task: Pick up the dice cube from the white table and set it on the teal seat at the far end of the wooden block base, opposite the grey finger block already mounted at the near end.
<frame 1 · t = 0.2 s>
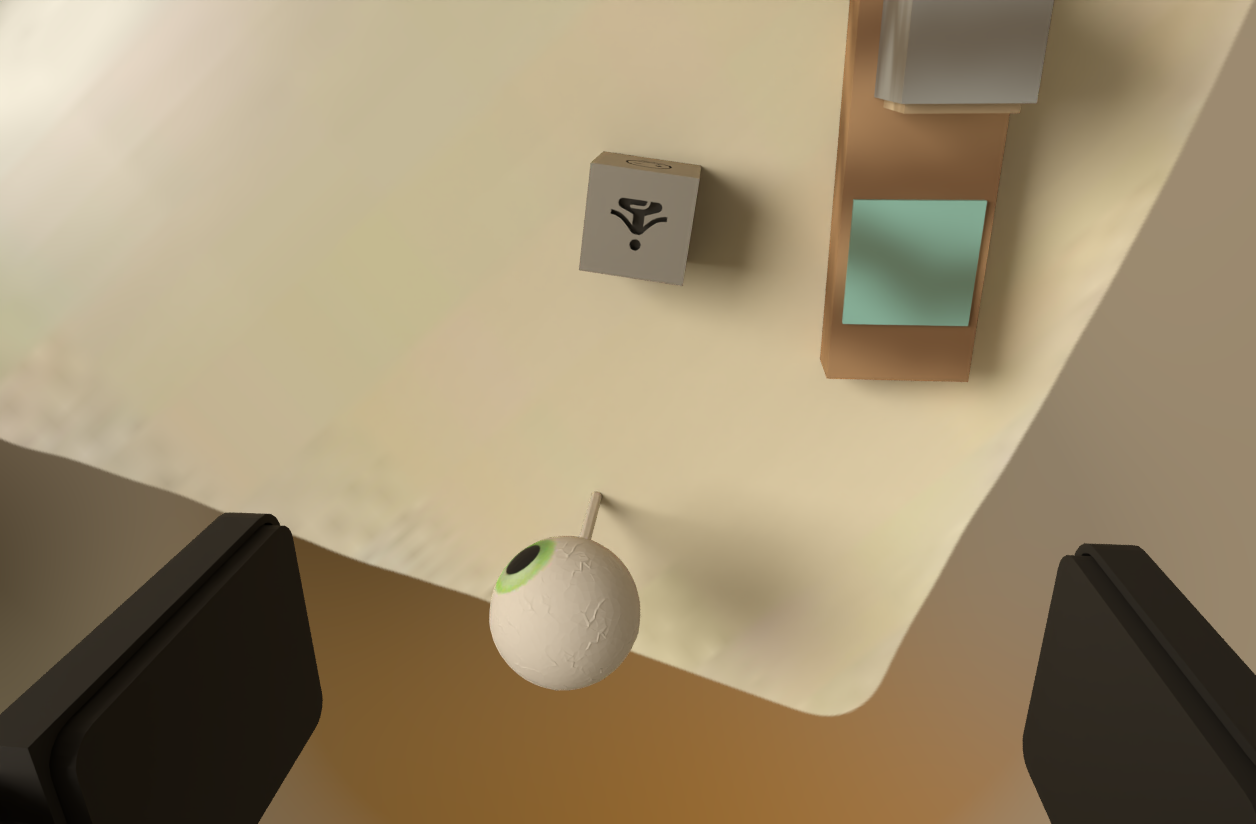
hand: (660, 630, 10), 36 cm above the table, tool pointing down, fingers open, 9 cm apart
wooden block base: (907, 169, 42), on the table
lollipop: (596, 495, 51), on the table
dice cube: (645, 207, 44), on the table
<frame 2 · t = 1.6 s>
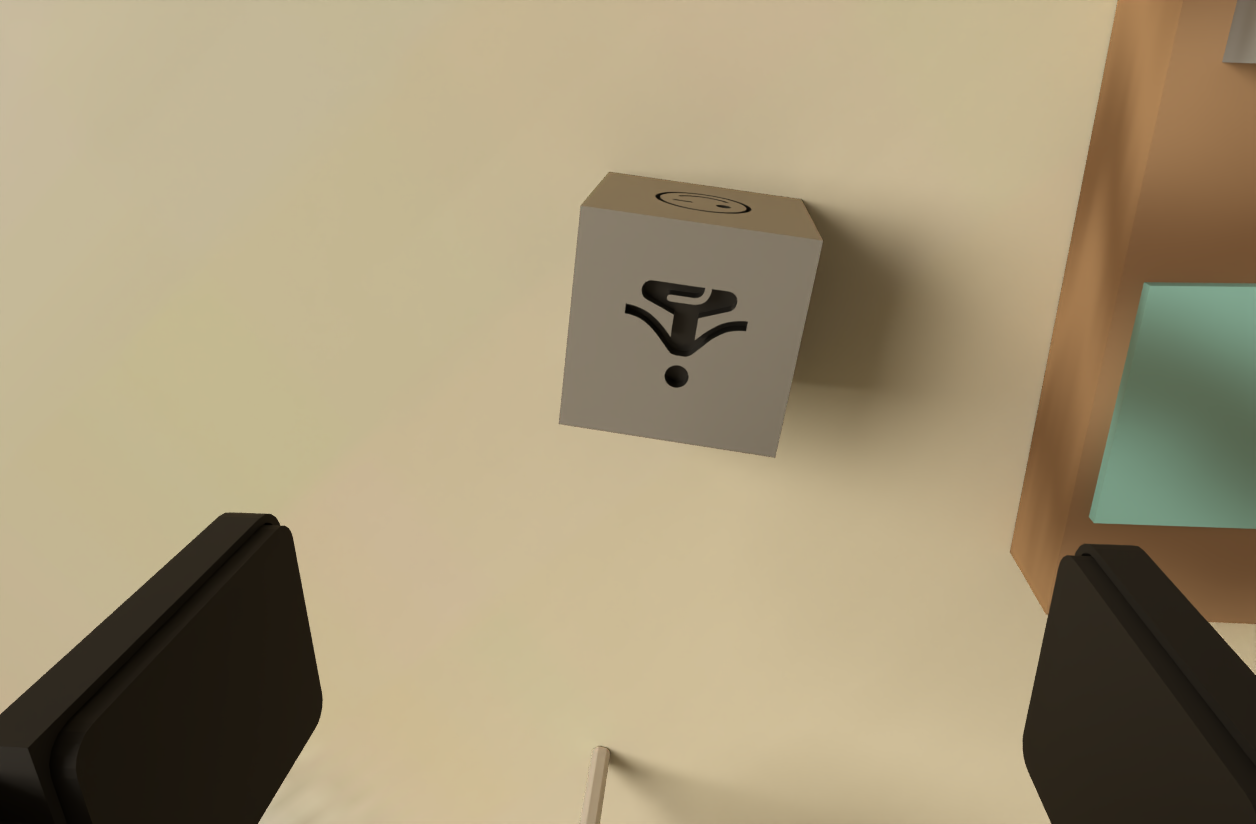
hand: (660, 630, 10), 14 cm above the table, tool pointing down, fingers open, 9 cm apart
wooden block base: (1225, 212, 21), on the table
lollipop: (602, 749, 30), on the table
dice cube: (690, 277, 23), on the table
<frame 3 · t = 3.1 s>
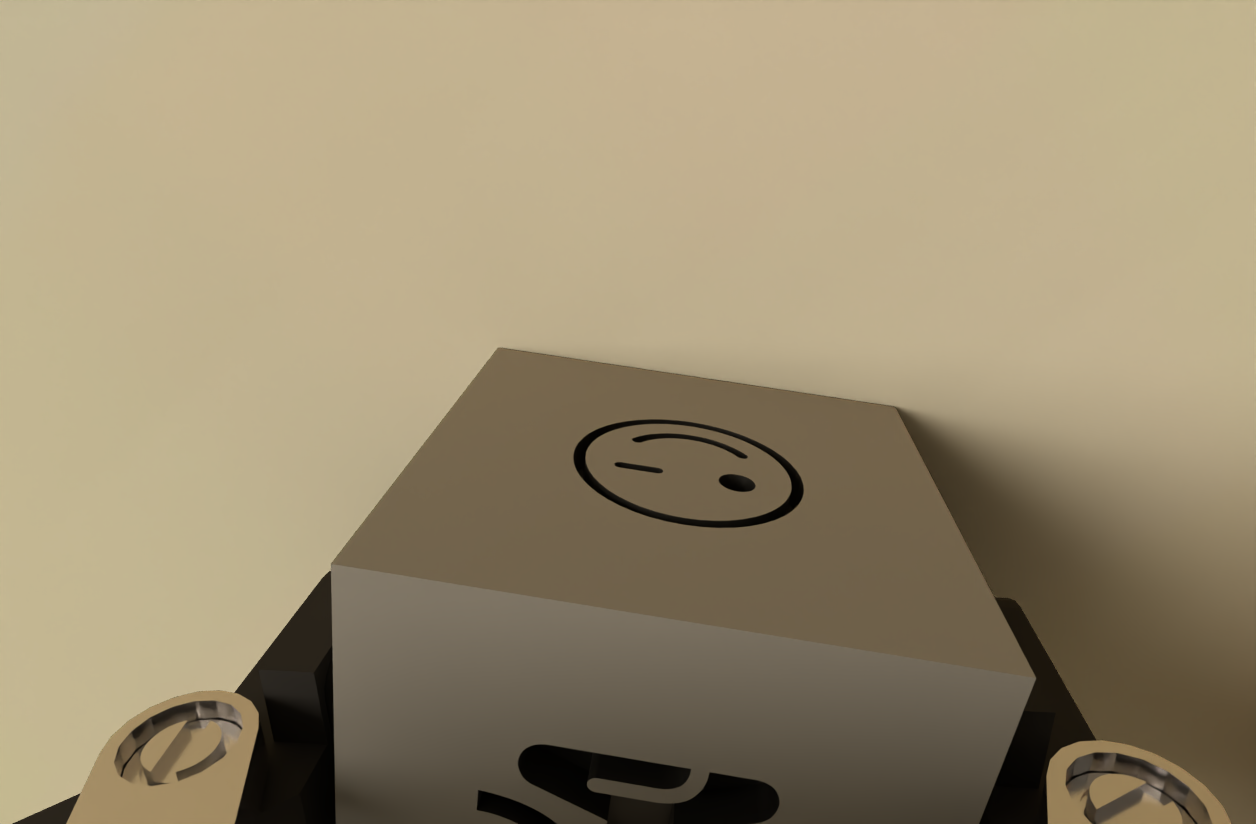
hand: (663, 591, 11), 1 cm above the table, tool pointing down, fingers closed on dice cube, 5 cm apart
dice cube: (667, 539, 12), on the table, touching gripper
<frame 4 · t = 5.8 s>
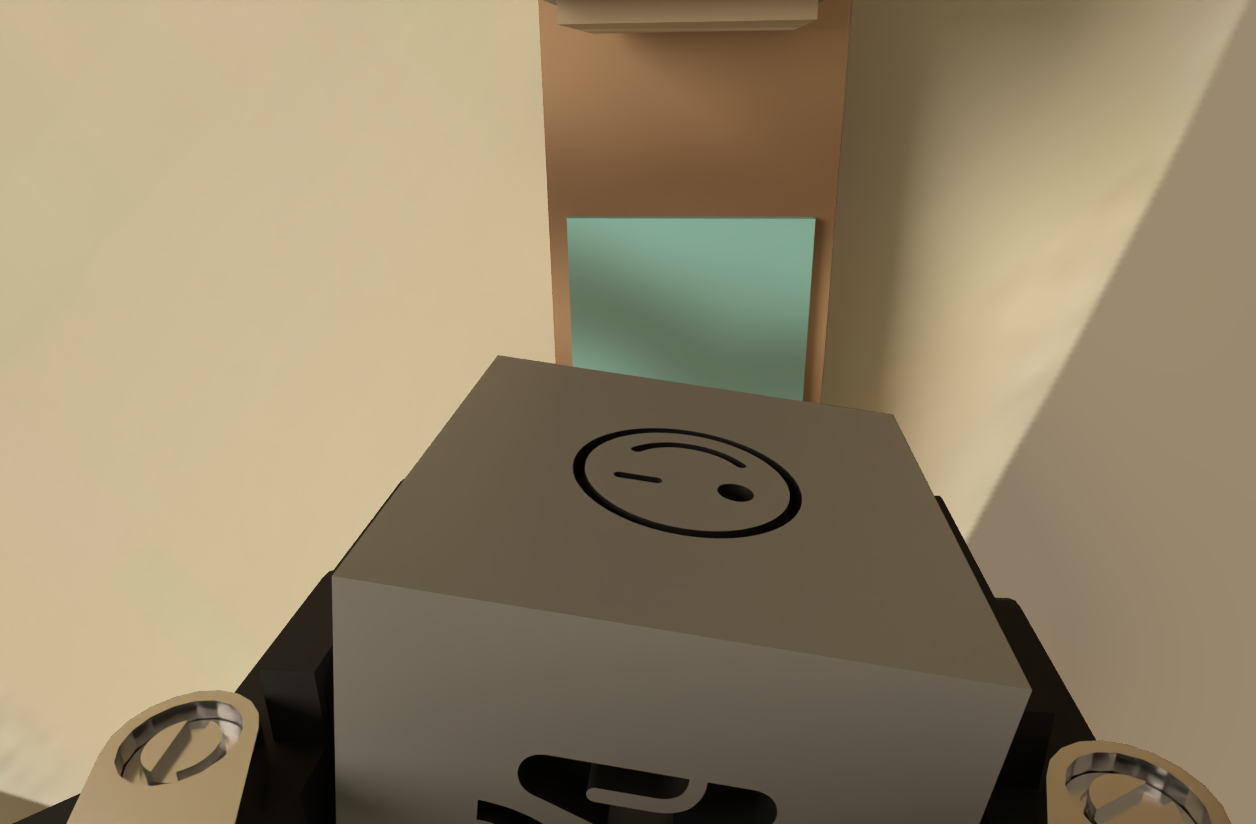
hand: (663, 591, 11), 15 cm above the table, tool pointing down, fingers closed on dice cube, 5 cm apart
wooden block base: (693, 161, 23), on the table
dice cube: (666, 546, 12), point 14 cm above the table, touching gripper
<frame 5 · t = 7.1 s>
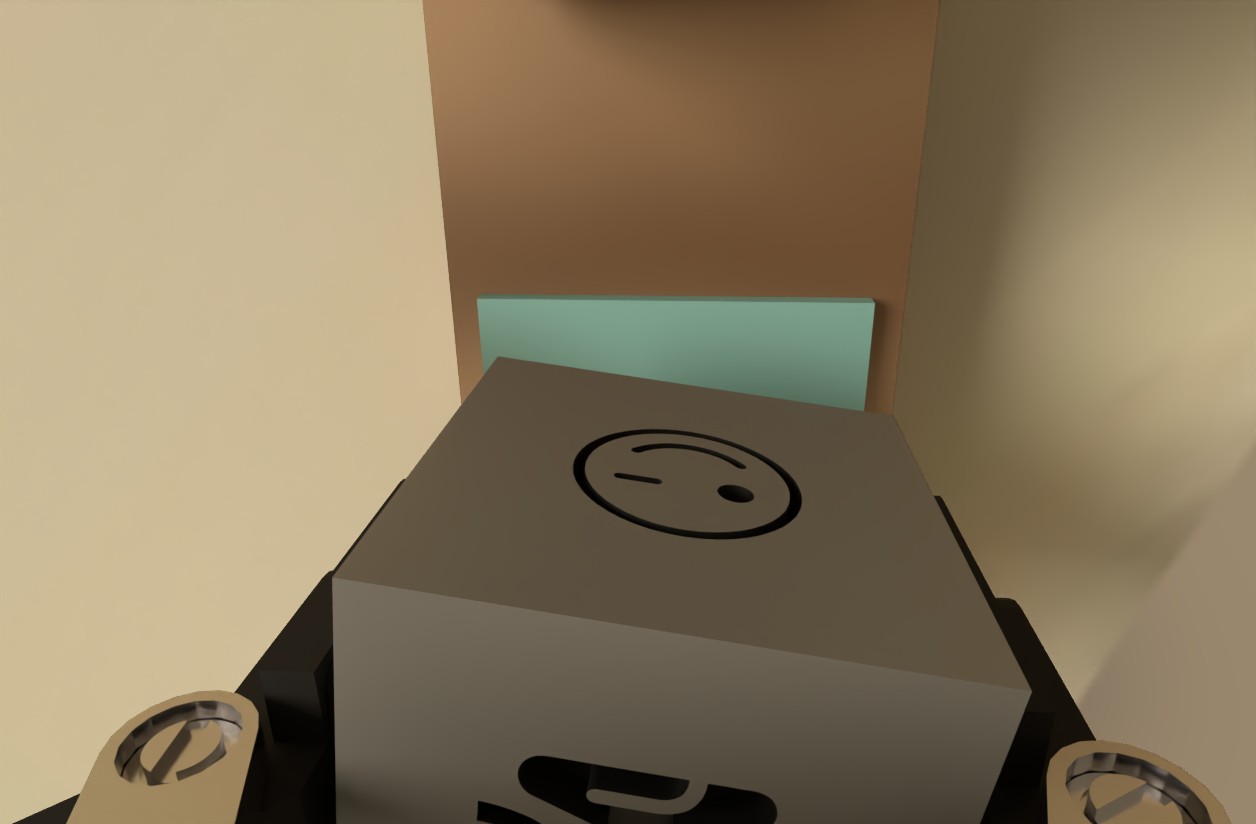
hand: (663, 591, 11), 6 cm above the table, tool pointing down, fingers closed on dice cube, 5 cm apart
wooden block base: (679, 200, 15), on the table
dice cube: (666, 546, 12), point 6 cm above the table, touching gripper
when the fingers open (5 cm above the table, at t = 8.2 s): dice cube drops 1 cm, resting on wooden block base.
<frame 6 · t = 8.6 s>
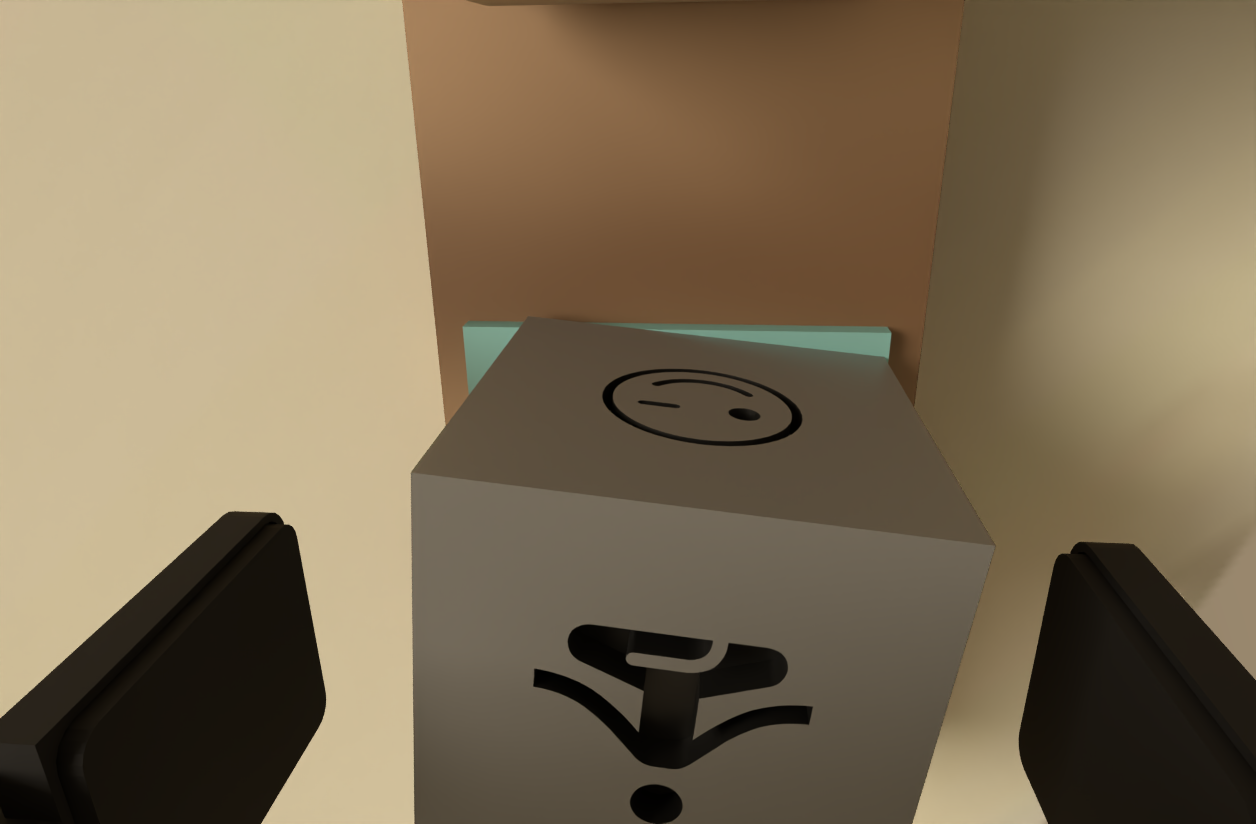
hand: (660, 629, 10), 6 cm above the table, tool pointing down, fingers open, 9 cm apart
wooden block base: (681, 218, 14), on the table
dice cube: (684, 487, 13), point 3 cm above the table, touching wooden block base
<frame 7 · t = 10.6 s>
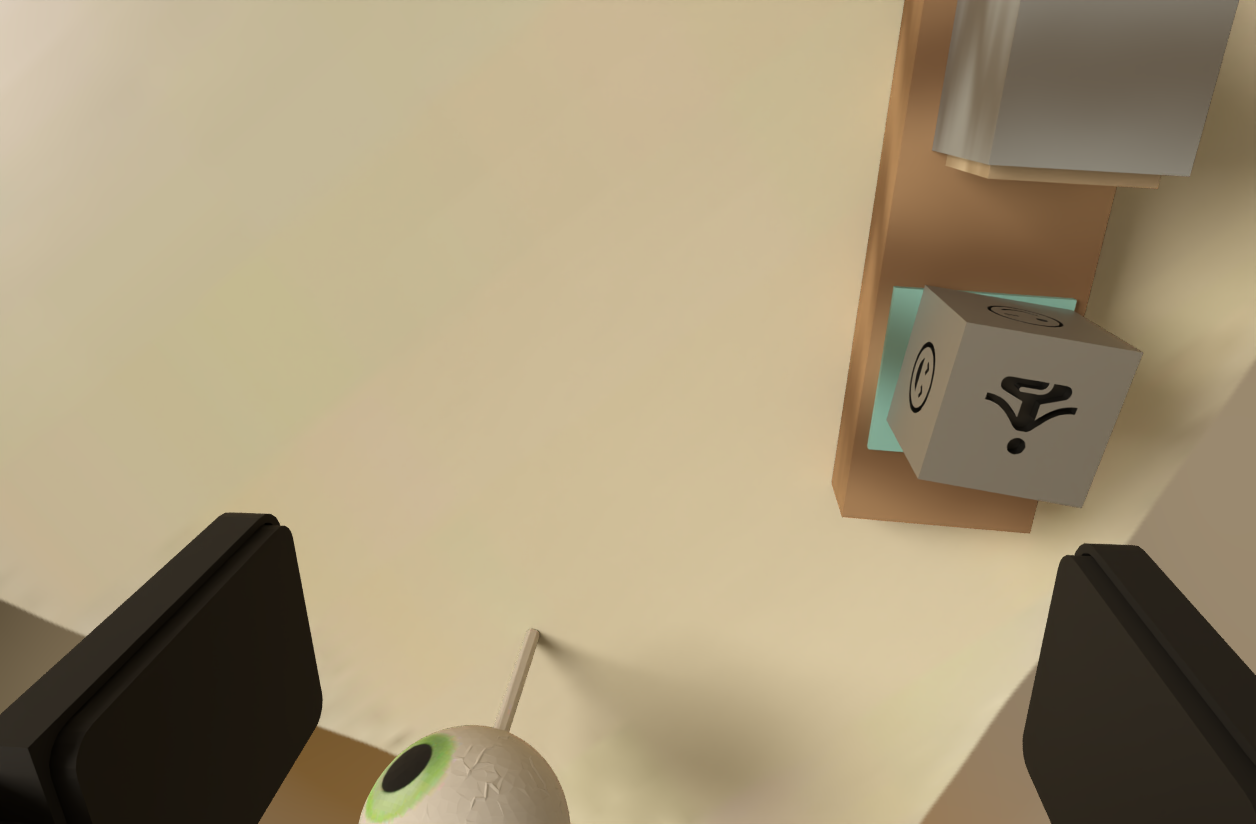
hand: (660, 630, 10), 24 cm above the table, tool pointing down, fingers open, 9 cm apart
wooden block base: (963, 247, 31), on the table
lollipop: (533, 632, 39), on the table
dice cube: (974, 365, 30), point 3 cm above the table, touching wooden block base
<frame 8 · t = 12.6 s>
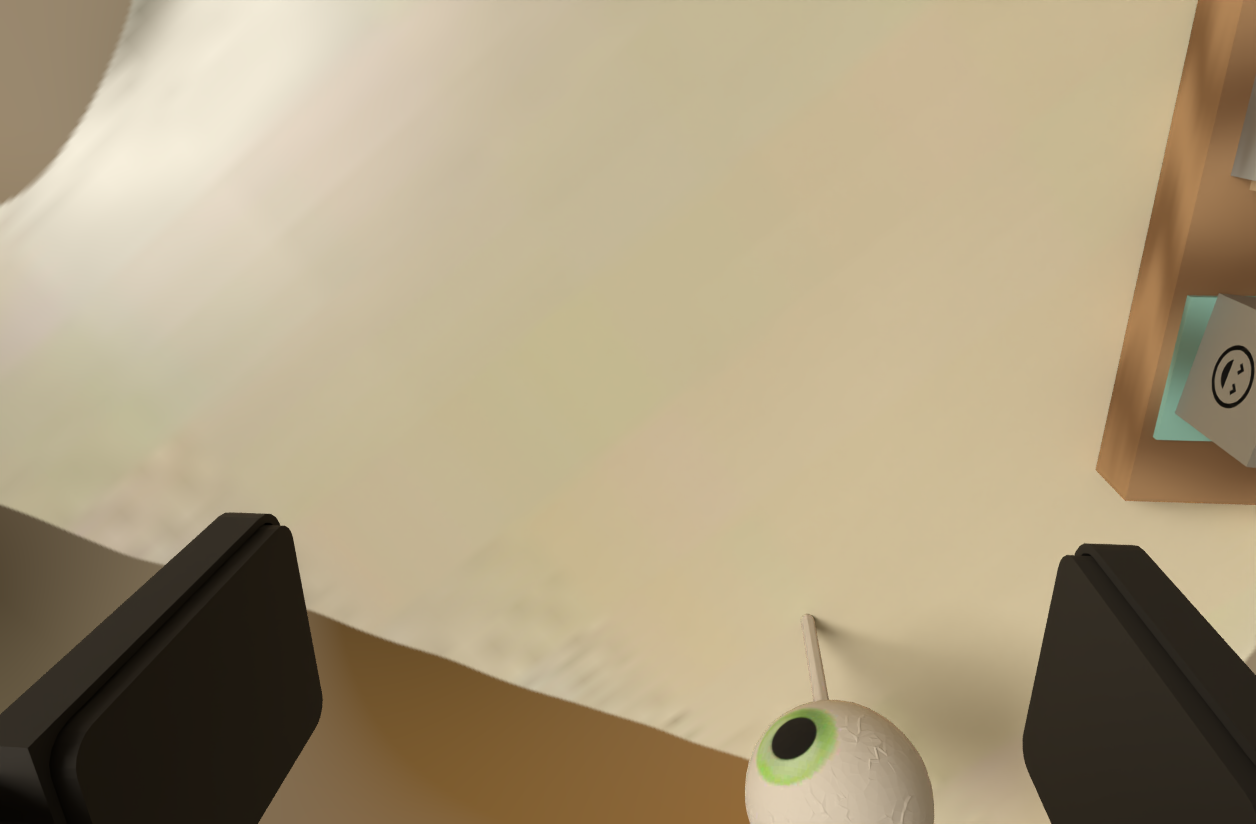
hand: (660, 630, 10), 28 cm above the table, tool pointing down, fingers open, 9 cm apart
wooden block base: (1231, 254, 35), on the table
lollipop: (807, 617, 44), on the table
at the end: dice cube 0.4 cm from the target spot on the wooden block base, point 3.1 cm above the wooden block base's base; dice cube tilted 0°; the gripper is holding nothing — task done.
